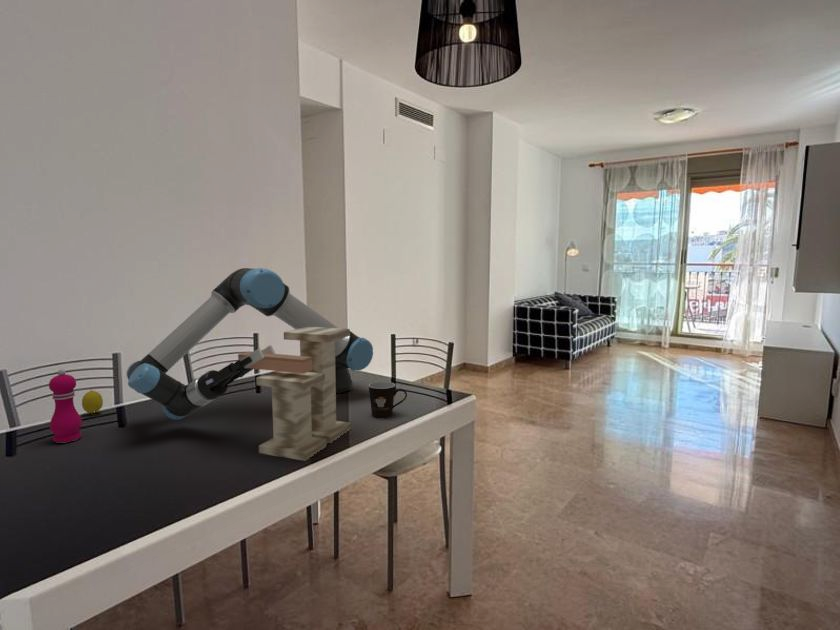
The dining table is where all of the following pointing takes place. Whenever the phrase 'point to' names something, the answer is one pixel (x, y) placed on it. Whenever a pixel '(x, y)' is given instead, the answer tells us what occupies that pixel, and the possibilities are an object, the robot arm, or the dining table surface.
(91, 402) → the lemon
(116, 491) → the dining table surface
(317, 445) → the two-tier stand
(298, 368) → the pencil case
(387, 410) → the coffee mug
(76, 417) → the pepper mill
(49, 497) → the dining table surface
